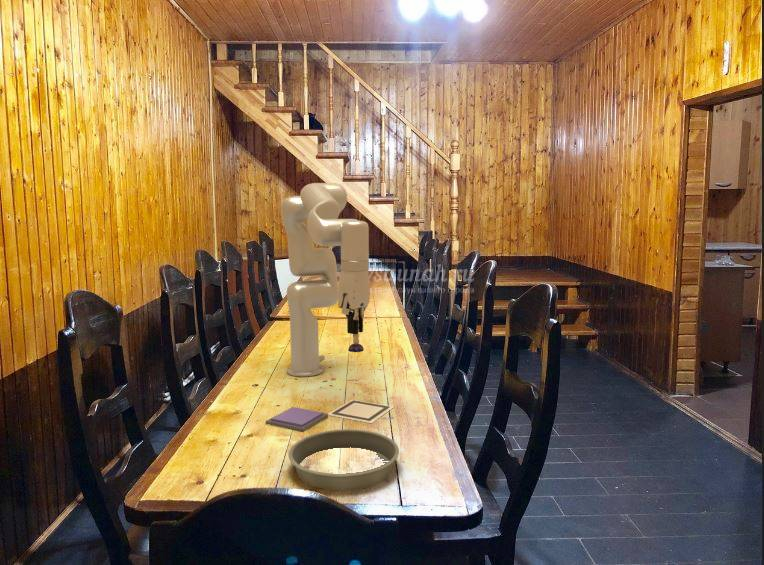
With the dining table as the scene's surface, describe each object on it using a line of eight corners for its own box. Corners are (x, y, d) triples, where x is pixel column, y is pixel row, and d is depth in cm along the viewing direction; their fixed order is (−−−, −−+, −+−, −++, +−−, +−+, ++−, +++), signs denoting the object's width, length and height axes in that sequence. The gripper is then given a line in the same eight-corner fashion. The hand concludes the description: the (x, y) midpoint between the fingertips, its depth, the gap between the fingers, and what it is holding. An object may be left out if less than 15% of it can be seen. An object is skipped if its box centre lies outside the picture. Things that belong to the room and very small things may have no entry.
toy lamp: (348, 352, 166) (348, 292, 164) (344, 348, 171) (345, 289, 168) (365, 352, 167) (366, 291, 165) (361, 348, 172) (362, 289, 170)
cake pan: (320, 440, 152) (320, 423, 152) (413, 455, 144) (413, 437, 143) (267, 483, 130) (266, 463, 129) (374, 504, 121) (374, 483, 120)
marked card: (352, 400, 181) (352, 398, 181) (394, 407, 175) (394, 406, 175) (326, 415, 169) (326, 413, 169) (371, 423, 163) (371, 422, 163)
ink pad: (292, 409, 173) (292, 405, 173) (328, 416, 168) (327, 411, 168) (265, 423, 163) (265, 418, 162) (303, 431, 157) (303, 426, 157)
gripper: (357, 262, 174) (357, 325, 177) (327, 268, 160) (328, 337, 163) (380, 264, 171) (380, 328, 173) (351, 270, 157) (352, 340, 160)
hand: (355, 332), depth 168 cm, fingers closed on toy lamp
